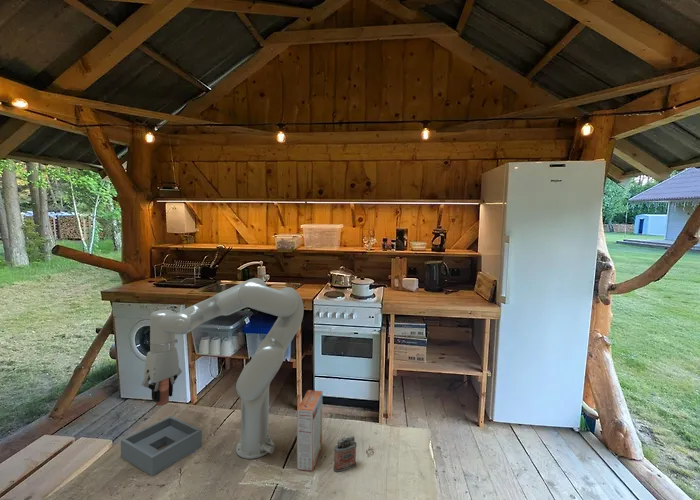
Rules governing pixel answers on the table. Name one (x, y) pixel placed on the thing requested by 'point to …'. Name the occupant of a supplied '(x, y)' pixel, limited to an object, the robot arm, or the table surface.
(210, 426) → the table surface
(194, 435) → the tray
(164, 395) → the peg
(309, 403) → the cracker box
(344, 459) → the lighter
